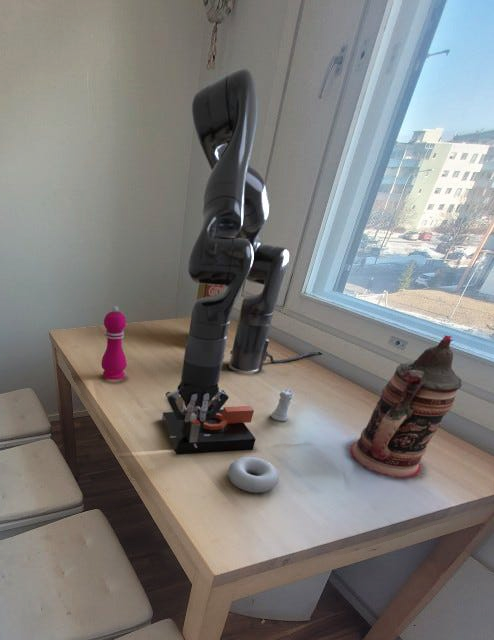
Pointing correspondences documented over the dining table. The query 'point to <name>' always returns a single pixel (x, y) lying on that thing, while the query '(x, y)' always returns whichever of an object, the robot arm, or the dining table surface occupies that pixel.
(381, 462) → the beer stein
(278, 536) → the dining table surface
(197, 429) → the knob
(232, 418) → the hanging ring
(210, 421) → the burner
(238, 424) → the stove
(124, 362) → the pepper mill
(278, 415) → the rook chess piece
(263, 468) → the donut
